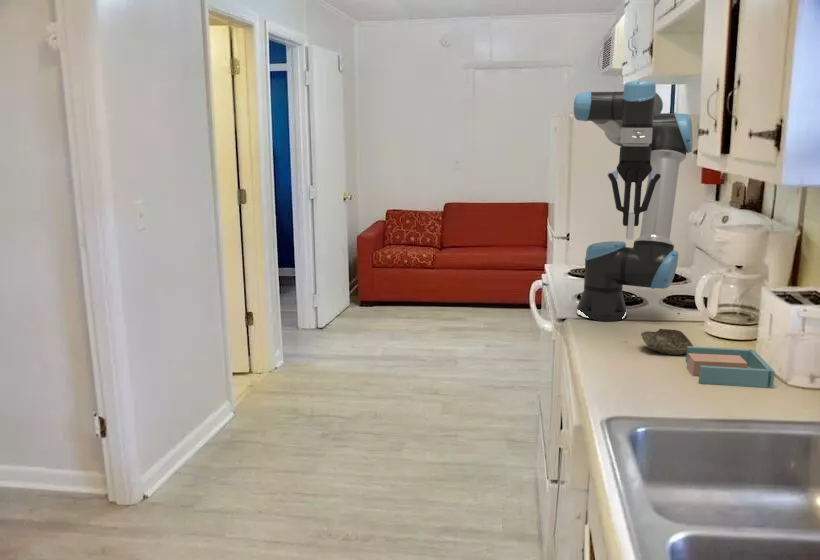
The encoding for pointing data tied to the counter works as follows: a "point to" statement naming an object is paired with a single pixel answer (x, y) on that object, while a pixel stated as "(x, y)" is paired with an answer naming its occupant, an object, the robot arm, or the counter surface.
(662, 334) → the stone
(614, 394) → the counter surface
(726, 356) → the tile
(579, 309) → the robot arm
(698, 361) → the tile
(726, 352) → the tray
